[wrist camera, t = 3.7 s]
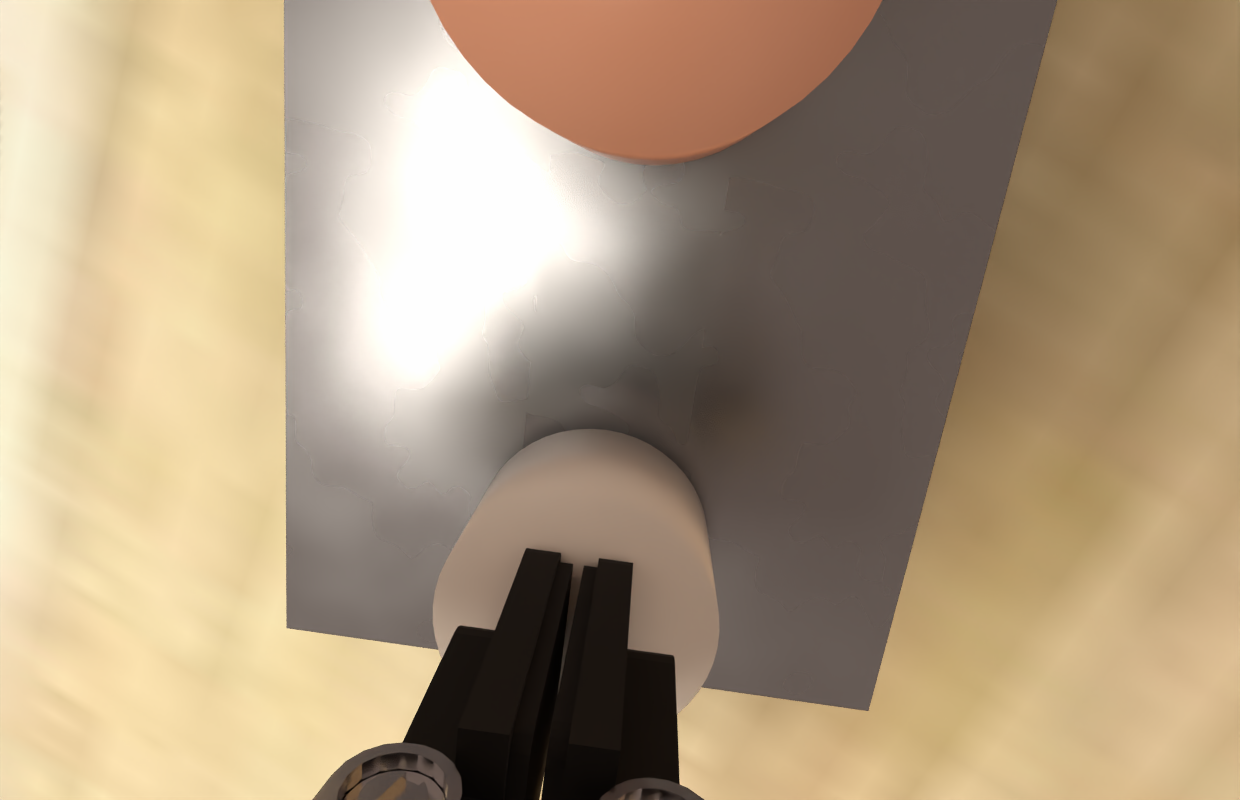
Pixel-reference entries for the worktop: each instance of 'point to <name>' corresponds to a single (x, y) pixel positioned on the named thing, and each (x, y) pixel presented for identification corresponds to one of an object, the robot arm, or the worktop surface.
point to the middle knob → (654, 66)
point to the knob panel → (638, 318)
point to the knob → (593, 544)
